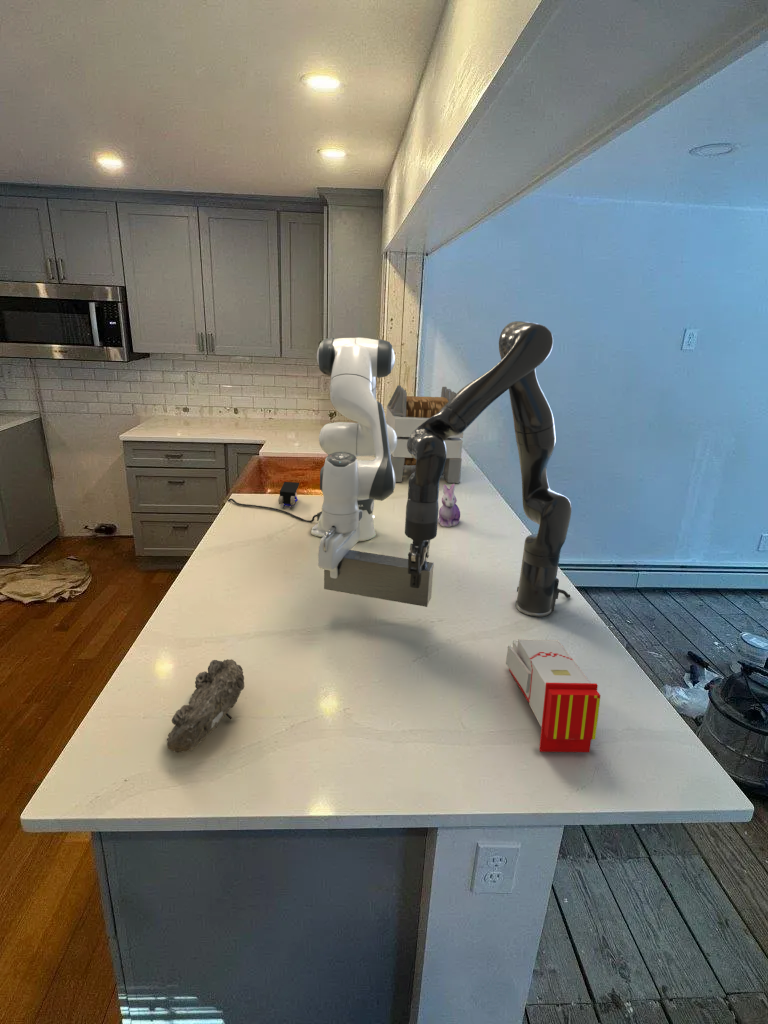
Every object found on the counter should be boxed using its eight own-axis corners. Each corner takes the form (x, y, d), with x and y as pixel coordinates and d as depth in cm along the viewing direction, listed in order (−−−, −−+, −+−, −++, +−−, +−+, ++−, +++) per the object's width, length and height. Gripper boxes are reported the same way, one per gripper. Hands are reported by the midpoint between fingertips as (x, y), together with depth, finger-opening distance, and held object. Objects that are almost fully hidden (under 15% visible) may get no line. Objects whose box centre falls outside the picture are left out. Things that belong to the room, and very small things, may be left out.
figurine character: (295, 514, 218) (300, 497, 231) (295, 496, 214) (299, 480, 228) (278, 513, 217) (283, 497, 231) (277, 495, 214) (283, 480, 227)
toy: (554, 622, 128) (610, 691, 98) (548, 677, 130) (601, 759, 101) (501, 621, 127) (541, 690, 98) (496, 676, 130) (534, 758, 101)
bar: (323, 589, 142) (324, 554, 139) (331, 580, 147) (331, 546, 144) (427, 607, 136) (429, 571, 133) (431, 597, 140) (433, 562, 137)
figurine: (445, 529, 206) (449, 489, 200) (430, 519, 214) (433, 481, 209) (467, 525, 210) (470, 487, 205) (451, 516, 218) (454, 479, 213)
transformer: (382, 463, 289) (386, 382, 275) (445, 464, 293) (451, 384, 279) (390, 482, 257) (394, 392, 243) (460, 483, 261) (468, 394, 247)
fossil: (192, 660, 117) (244, 628, 112) (224, 691, 120) (276, 661, 115) (142, 746, 98) (202, 712, 93) (182, 779, 101) (242, 748, 96)
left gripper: (337, 537, 127) (336, 591, 132) (365, 508, 146) (363, 557, 151) (311, 533, 129) (311, 587, 134) (342, 505, 148) (341, 554, 152)
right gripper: (431, 529, 124) (426, 598, 130) (443, 508, 137) (438, 572, 143) (398, 524, 126) (394, 592, 132) (413, 505, 139) (409, 567, 145)
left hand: (339, 571), depth 142 cm, fingers open, 5 cm apart
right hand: (417, 581), depth 137 cm, fingers closed on bar, 5 cm apart
